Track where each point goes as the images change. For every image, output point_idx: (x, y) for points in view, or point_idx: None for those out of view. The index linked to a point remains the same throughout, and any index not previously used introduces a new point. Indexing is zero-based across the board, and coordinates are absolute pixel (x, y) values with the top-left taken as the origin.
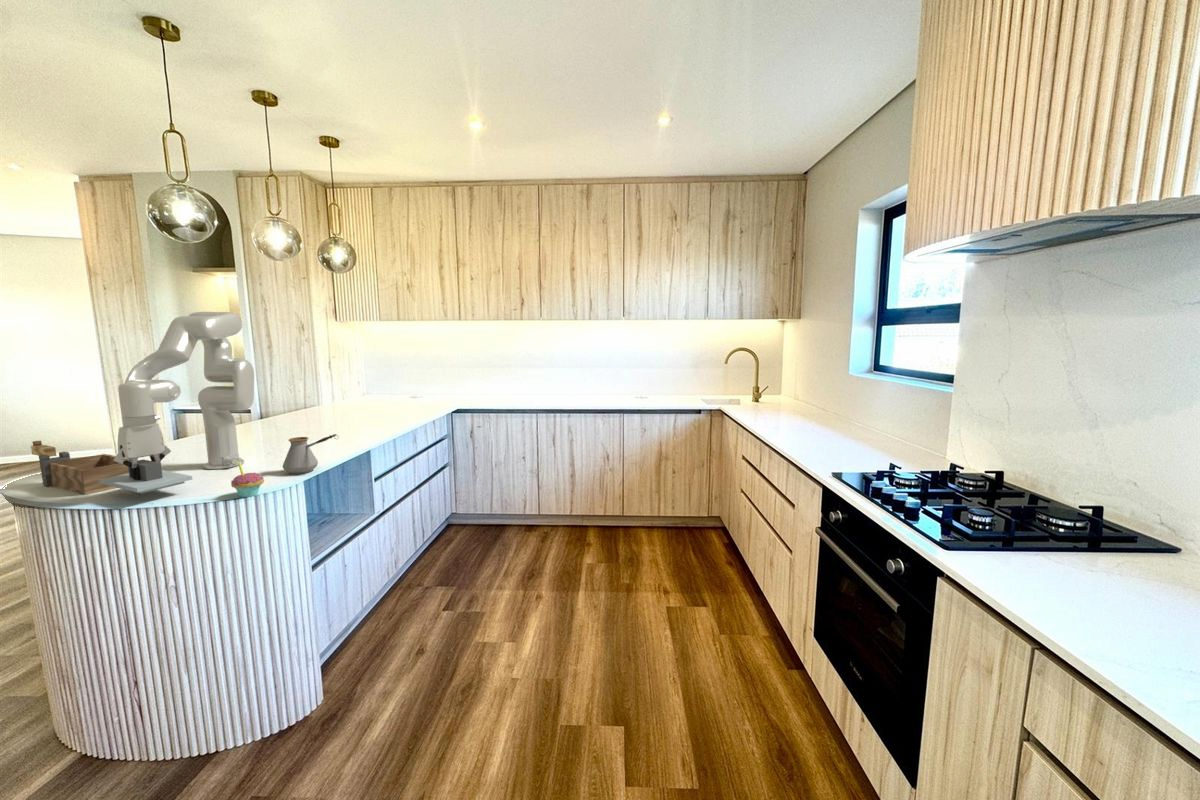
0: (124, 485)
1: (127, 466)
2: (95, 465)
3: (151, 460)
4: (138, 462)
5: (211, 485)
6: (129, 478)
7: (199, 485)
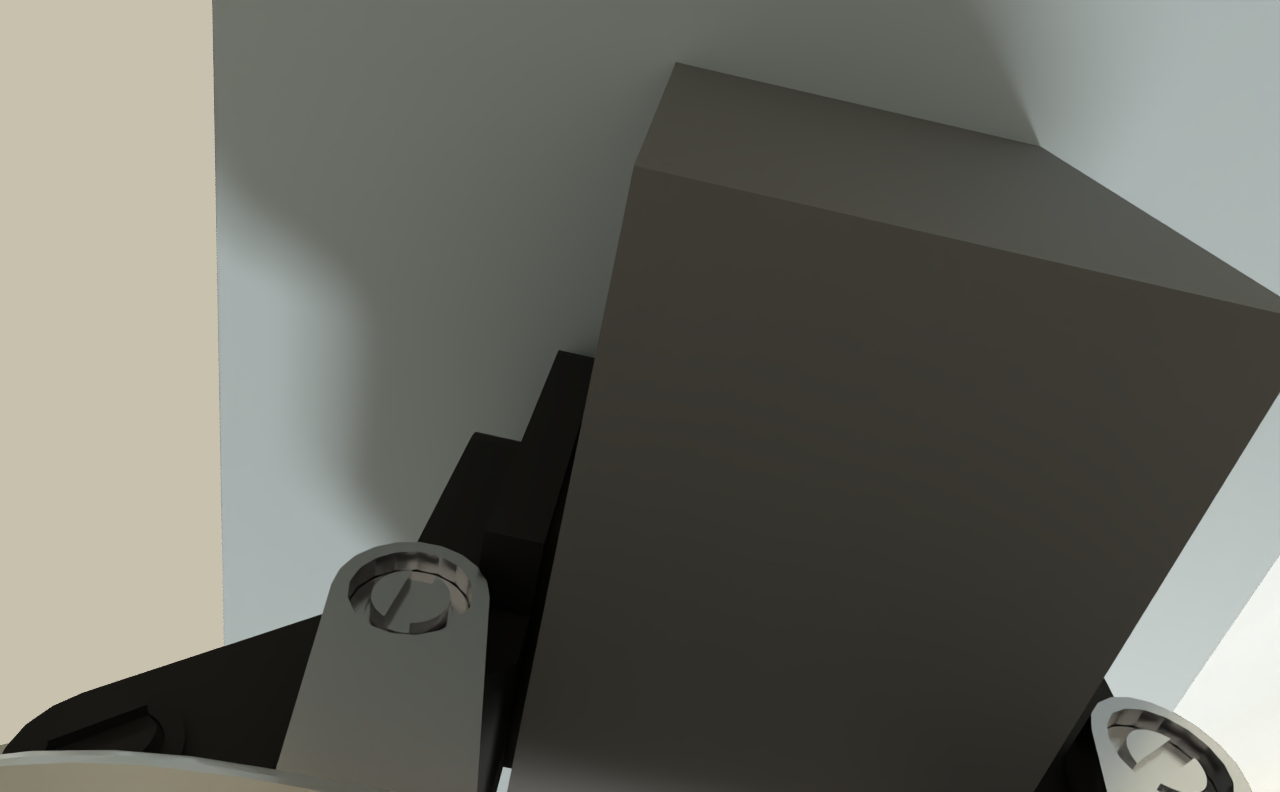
0: (225, 606)
1: (350, 562)
2: None
3: (1094, 781)
4: (723, 644)
5: (1243, 743)
6: (599, 177)
7: (1259, 607)
